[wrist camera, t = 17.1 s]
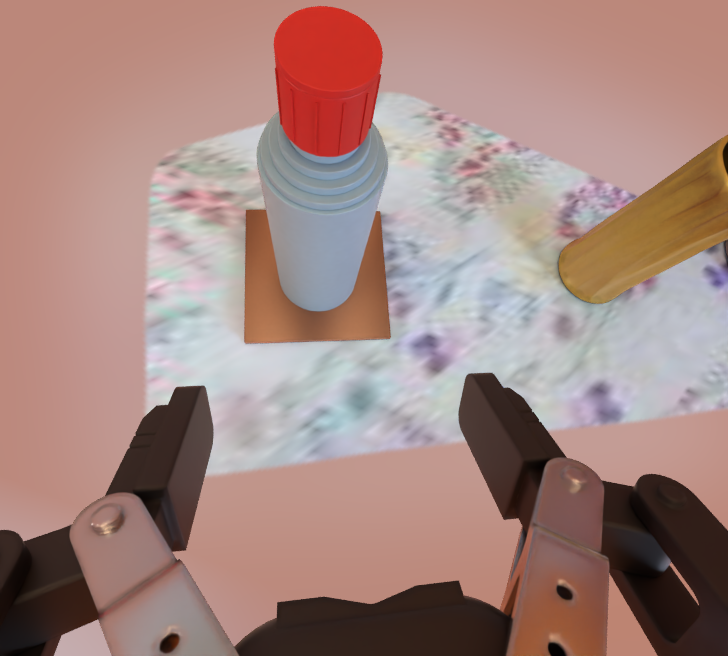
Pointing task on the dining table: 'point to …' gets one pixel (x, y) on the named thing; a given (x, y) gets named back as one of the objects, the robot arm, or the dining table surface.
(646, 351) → the dining table surface
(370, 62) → the cap
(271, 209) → the bottle
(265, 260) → the coaster
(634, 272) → the vase
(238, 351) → the dining table surface
